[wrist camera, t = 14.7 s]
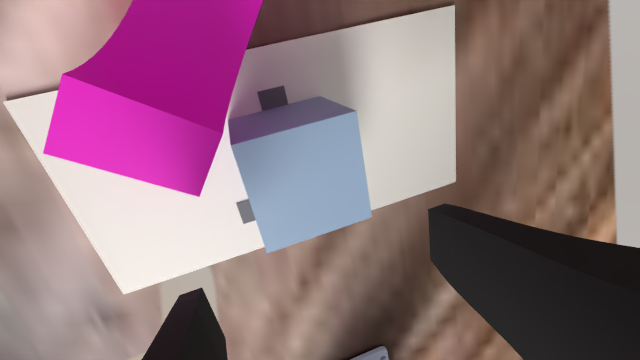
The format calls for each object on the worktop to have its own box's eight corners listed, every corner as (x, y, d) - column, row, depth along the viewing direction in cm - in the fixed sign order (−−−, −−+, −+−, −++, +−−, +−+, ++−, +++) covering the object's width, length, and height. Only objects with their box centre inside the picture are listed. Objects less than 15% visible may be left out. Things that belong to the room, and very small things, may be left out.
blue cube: (336, 178, 19) (372, 217, 14) (255, 203, 18) (267, 253, 13) (320, 96, 17) (356, 110, 12) (227, 119, 16) (230, 145, 11)
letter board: (453, 180, 22) (456, 182, 22) (124, 292, 18) (123, 295, 17) (452, 5, 17) (455, 4, 17) (6, 101, 13) (1, 102, 13)
